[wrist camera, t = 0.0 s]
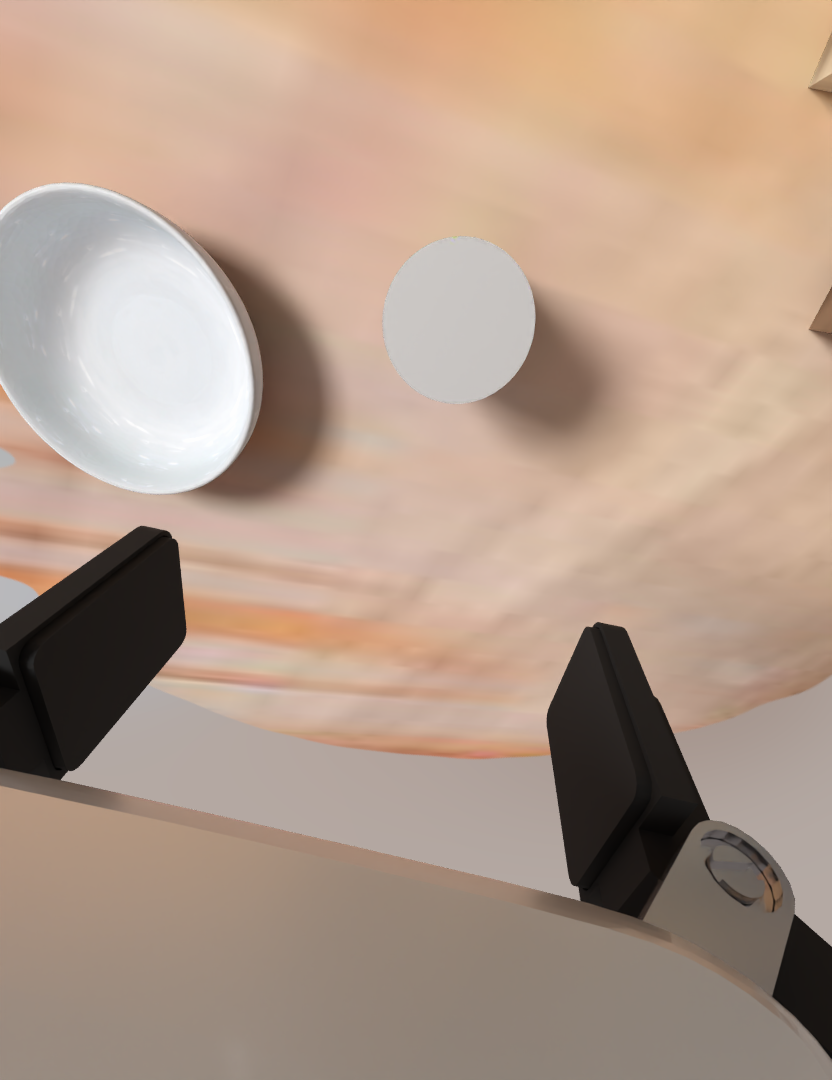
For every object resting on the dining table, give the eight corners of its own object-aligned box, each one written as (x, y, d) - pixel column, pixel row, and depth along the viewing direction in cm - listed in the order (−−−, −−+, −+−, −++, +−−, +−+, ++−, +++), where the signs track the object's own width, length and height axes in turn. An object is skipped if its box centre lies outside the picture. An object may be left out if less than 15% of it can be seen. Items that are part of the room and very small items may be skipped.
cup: (542, 303, 35) (569, 310, 24) (470, 392, 38) (466, 432, 28) (457, 224, 33) (446, 196, 22) (390, 325, 36) (354, 340, 26)
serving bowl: (161, 128, 32) (88, 93, 26) (337, 395, 40) (311, 415, 34) (0, 304, 40) (-87, 308, 34) (174, 503, 47) (128, 535, 41)
